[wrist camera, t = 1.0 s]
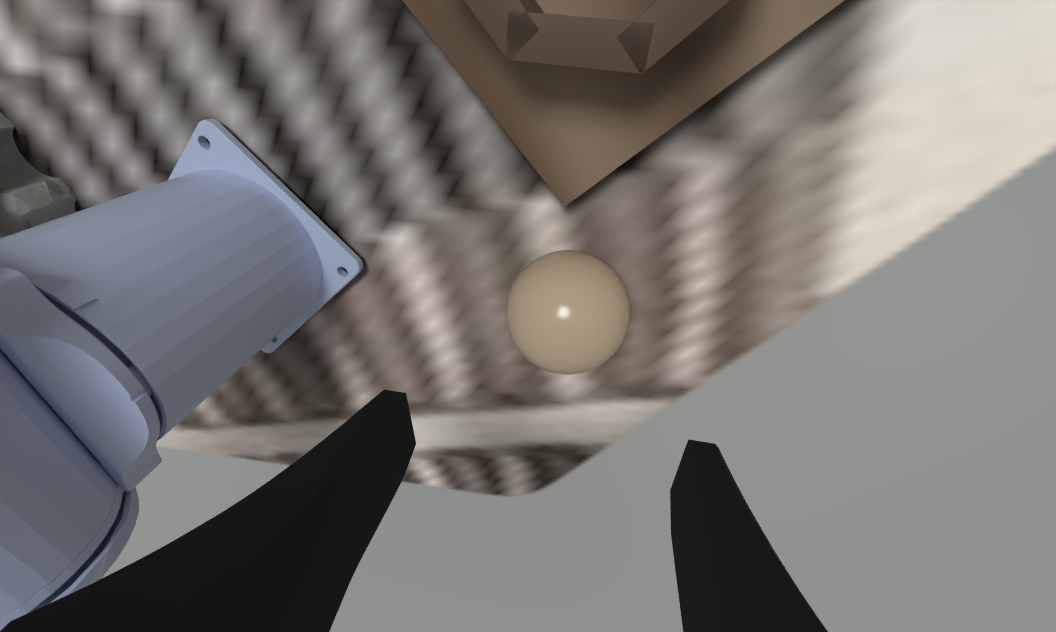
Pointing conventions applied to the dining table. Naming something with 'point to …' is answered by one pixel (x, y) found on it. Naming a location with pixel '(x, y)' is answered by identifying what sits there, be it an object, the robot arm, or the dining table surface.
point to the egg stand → (603, 68)
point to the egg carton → (27, 189)
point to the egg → (568, 312)
